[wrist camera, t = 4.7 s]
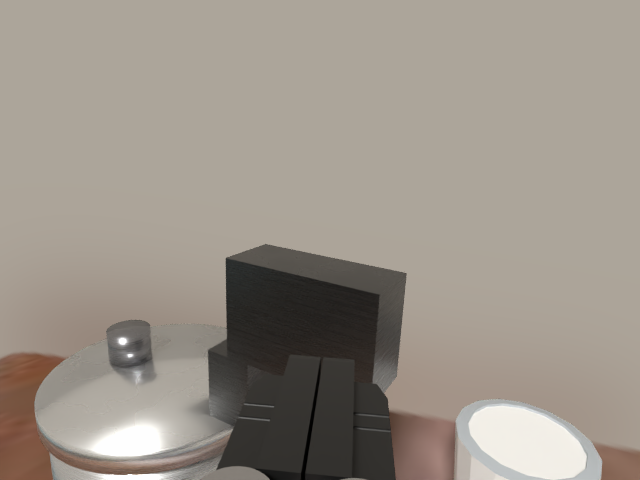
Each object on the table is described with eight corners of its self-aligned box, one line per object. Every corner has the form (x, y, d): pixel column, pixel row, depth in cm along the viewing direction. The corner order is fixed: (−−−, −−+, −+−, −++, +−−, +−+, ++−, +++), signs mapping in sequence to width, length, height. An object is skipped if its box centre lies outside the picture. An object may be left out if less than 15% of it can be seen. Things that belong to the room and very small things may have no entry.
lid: (420, 411, 21) (438, 247, 19) (297, 623, 12) (307, 351, 10) (174, 323, 28) (168, 201, 26) (-13, 410, 19) (-44, 235, 17)
